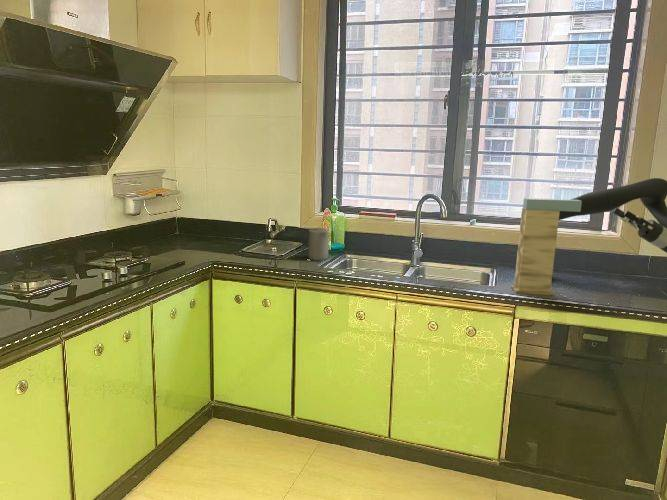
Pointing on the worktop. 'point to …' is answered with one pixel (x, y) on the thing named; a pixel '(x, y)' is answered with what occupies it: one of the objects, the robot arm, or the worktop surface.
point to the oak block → (536, 252)
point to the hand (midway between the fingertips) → (620, 211)
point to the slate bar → (552, 204)
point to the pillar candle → (318, 244)
